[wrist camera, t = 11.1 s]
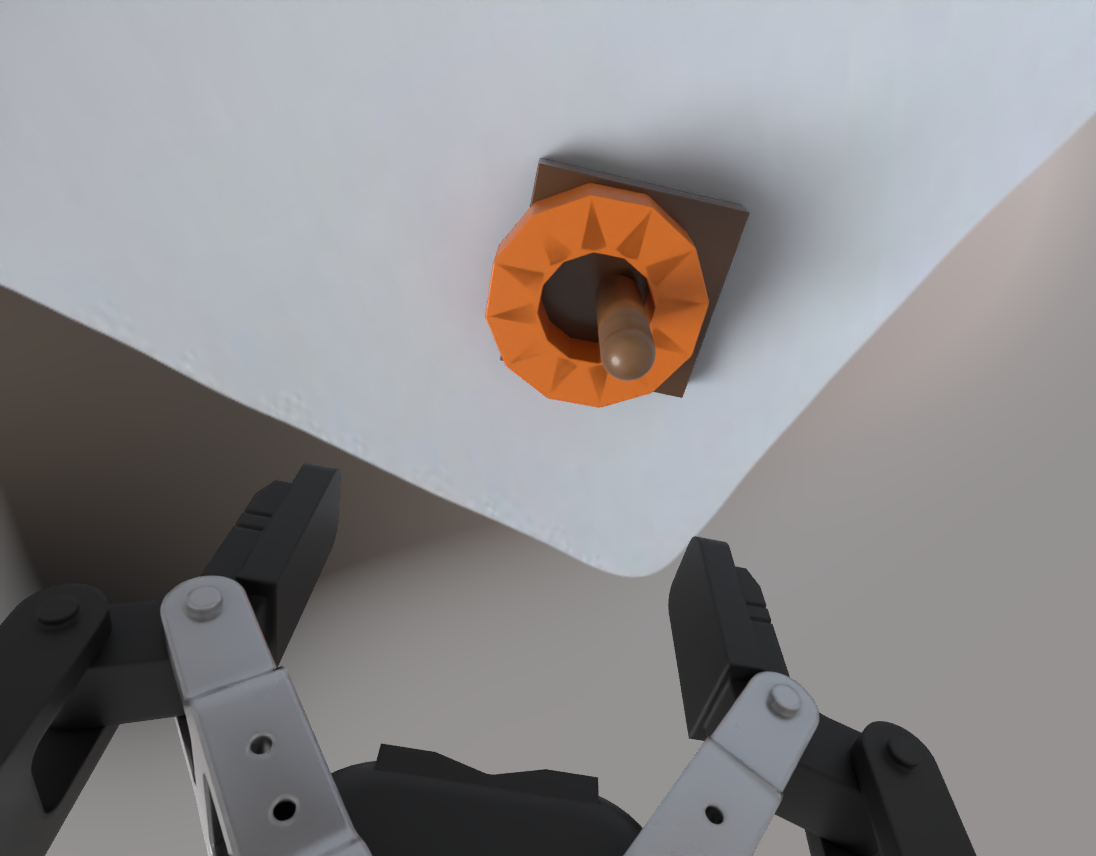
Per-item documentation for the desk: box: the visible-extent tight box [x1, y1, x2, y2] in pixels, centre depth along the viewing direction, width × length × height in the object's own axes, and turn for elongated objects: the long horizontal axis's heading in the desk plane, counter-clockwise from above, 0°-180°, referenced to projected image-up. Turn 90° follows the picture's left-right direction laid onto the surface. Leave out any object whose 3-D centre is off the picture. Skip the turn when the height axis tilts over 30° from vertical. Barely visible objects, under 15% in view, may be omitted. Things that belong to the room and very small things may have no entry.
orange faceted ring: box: [485, 183, 709, 407], centre depth 32 cm, size 10×10×3 cm
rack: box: [500, 158, 749, 398], centre depth 30 cm, size 10×10×10 cm
